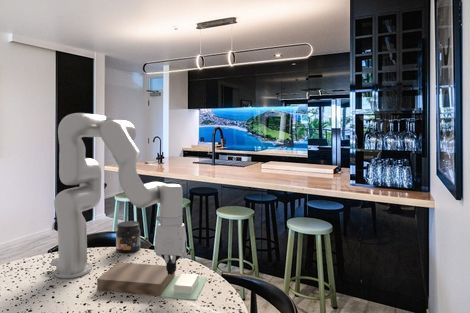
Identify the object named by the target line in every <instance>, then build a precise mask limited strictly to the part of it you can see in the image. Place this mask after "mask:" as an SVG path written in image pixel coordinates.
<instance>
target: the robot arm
mask: <svg viewBox="0 0 470 313" xmlns="http://www.w3.org/2000/svg"><path fill="white" fill-rule="evenodd" d="M57 135H58V137H57V138H58V144H59V154H58V156H59V157H58V158H59V159H58V160H59V168H58V169H59V170H58V173H59V180H60V182H61V183H62V184H64V185H66V186H75V187H71V188H67V189H64V190H62V191H60V192H59V193H57V195H56V196H55V197H54V200H53V205H54V210H55V214H56V219H57V220H56V222H57V237H58V238H57V242H58V246H57V247H58V258H52V259H51V262H50V264H49V266H51V267H55V270H54V272H53V273H54V277H55V278H58V279H74V278H78V277H82V276H85V275H87V274H88V273H90V272H91V271H92V270H93V268H92V267H93V265H92V264H91V262H90V263H89V262H88V243H87V242H88V237H87V236H88V234H87V230H88V229H87V228H88V227H87V221H86V218H85V217H84V215H83V212H86V211H88V210H92V209H94V208H95V207H97V206H98V205H99V203H100V201H101V197H102V196H101V195H102V167H101V166H100V164H99V162H98V161H97V160H95V159H93V158H90V157H86V146H85V143H84V141H83V139H82V138H85V137H86V138H100V139H101V141H102V142H103V143H104V145H105V146H106V147H107V148H106V149H108V151H109V153H110V154H111V156H112V157H113V159H114V161H115V162H116V164H117V166H118V167H117V168H118V172H117V173H118V182H119V185H120V187H121V189H122V190H123V191H122V192H123V193H124V195H125V196H126V197H127V199H128V201H129V202H130V203H131V204H132V205H133V206H134V207H136V208H138V209H144V208H148V207H150V206H152V205H155V204H159V215H158V216H155V220H156V221H157V222H159V223H158V224H157V225H156V230H155V240H154V253H155V256H157V257H159V258H160V257H161V258H162V259H163V260H164V262H165V263H166V264H165V266H166V270H167V271H168V274H171V275H172V274H173V273H174V272H175V273H176V271H177V261H178V260H180V259H183V258H186V257H187V256H188V253H187V248H188V244H187V240H188V239H187V232H186V227H185V226H186V225H185V223H183V202H184V201H183V200H184V199H183V197H184V195H183V186H182V185H181V184H178V183H165V182H160V181H151V182H146V183H144V182H143V181H142V179H141V177H140V175H139V173H138V171H137V162H138V161H139V159H140V158H141V152H140V149H139V148H138V147H137V145H136V144H135V142H134V140H135V139H136V136H137V128H136V127H135V126H134V124H133V123H132V122H130V121H128V120H124V119H119V118H115V117H111V116H108V115H101V114H97V113H96V114H95V113H94V114H93V113H85V112H75V113H70V114H67V115H66V116H64V117H63V118H62V119H61V121H60V122H59V124H58V128H57ZM77 185H79V186H77Z"/></svg>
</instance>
